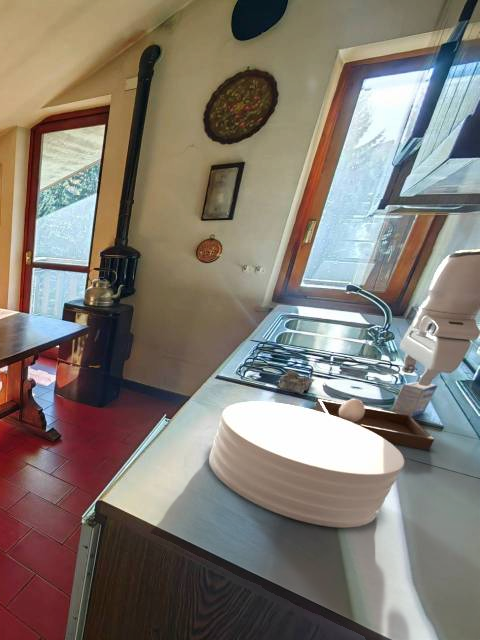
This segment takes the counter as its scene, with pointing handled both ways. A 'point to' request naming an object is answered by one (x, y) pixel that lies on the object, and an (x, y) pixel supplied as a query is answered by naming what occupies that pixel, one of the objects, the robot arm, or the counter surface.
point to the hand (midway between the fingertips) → (414, 378)
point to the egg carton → (295, 382)
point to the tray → (386, 425)
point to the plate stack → (304, 463)
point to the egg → (352, 410)
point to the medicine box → (413, 398)
